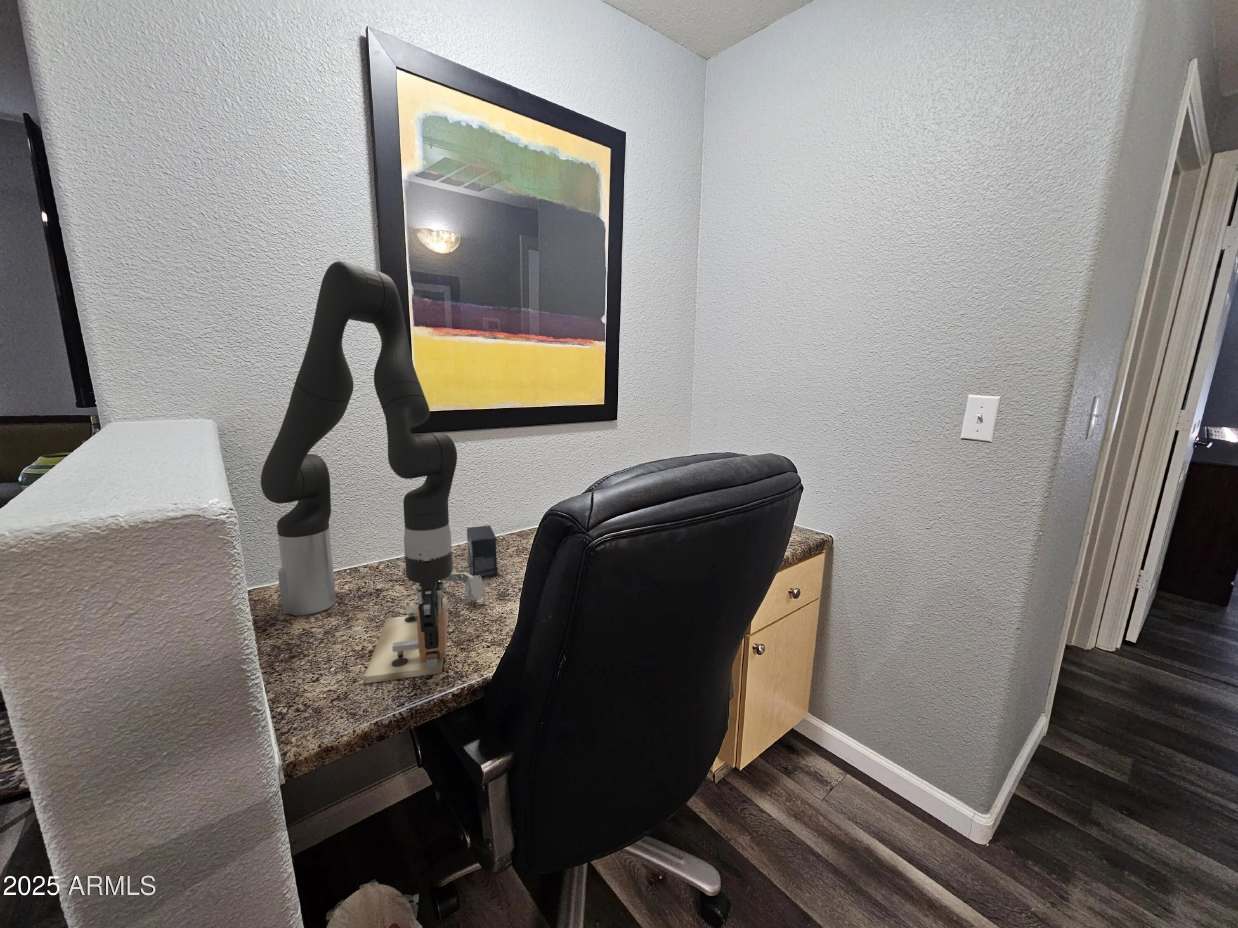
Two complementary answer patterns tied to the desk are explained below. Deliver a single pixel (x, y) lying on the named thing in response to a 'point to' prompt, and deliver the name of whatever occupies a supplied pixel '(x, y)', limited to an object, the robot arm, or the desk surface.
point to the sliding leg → (420, 643)
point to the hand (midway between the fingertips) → (433, 640)
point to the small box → (482, 551)
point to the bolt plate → (387, 661)
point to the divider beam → (432, 655)
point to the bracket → (469, 585)
